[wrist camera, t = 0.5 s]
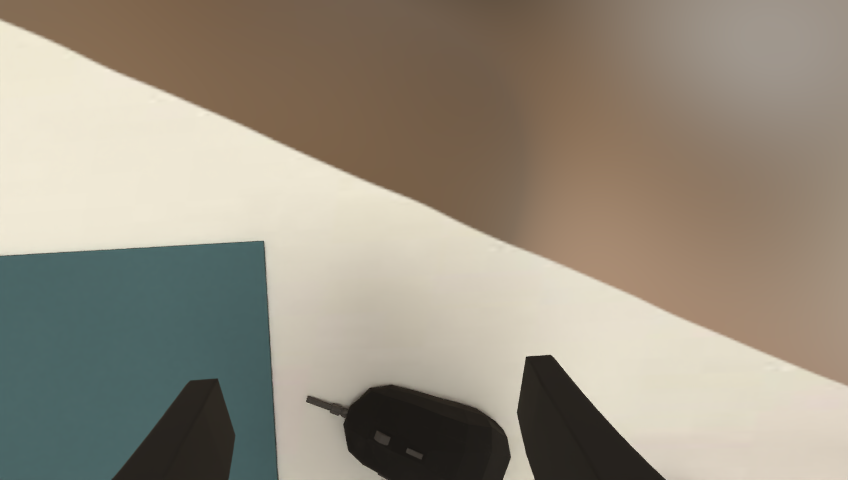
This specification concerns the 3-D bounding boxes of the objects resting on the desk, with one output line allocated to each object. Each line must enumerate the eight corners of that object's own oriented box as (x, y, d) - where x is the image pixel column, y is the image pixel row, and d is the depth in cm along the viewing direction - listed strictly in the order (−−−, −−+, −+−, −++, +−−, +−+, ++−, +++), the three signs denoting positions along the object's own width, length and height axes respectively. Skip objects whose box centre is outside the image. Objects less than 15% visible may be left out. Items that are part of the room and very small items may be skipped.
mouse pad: (284, 593, 34) (283, 596, 34) (-10, 638, 31) (-13, 642, 31) (264, 241, 34) (263, 241, 34) (-30, 257, 32) (-34, 258, 31)
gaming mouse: (323, 354, 35) (320, 368, 31) (517, 421, 36) (537, 442, 32) (290, 441, 34) (281, 467, 30) (487, 505, 36) (503, 537, 32)
